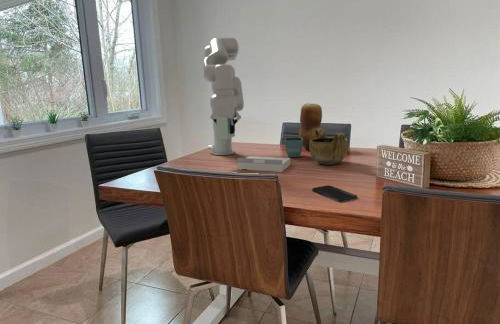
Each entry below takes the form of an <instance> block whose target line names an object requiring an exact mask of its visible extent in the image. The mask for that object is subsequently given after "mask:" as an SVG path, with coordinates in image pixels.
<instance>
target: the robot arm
mask: <svg viewBox="0 0 500 324" xmlns="http://www.w3.org/2000/svg"><path fill="white" fill-rule="evenodd" d="M239 48H240V46H239V43H238V40H237V39H236V38H235V37H216V38H213V39H211V41H210V43H209V45H207V46H205V47H204V51H203V54H204V60H203V65H202V68H203V69H202V70H203V71H202V72H203V78H204V80H205V81H206V82H208V83H209V82H210V84H211V91H212V93H213V95H211V97H210V99H209V101H210V102H209V103H210V109H211V115H210V119H211V120H212V128H213V129H212V131H213V144H212V145H211V144H210V145H208V146H207V148H208V150H212V151H211V154H212V155H214V156H229V155H233V154H236V150H234V149H233V142H232V141H233V137H232V138H230V139H218V137H217V118H216V117H217V116H228V119H230V123H231V125H230V134H234V132H235V131H236V126H235V125H236V124H237V123H238V122H239V121H240V120H241V119H242V116H241V115H240V113H239V112H241V111H242V110H243V109H244V107H245V106H244V104H245V103H244V94H243V88H242V81H241V79H240V77H238V76H235V75H236V72H235V67H233V66H232V64H227V62H229V61H230V62H231V61H235V60H236V58H237V57H238V54H239ZM235 133H236V132H235Z"/></svg>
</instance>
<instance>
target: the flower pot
mask: <svg viewBox="0 0 500 324" xmlns="http://www.w3.org/2000/svg"><path fill="white" fill-rule="evenodd" d="M284 146H285V152H286V155H287V158H299V157H300V156H301V154H302V150H303V139H302V138H299V137H284Z"/></svg>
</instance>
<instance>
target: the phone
mask: <svg viewBox="0 0 500 324" xmlns="http://www.w3.org/2000/svg"><path fill="white" fill-rule="evenodd" d="M311 192H313V193H316V194H319V195H320V196H322V197H325V198H328V199H330V200H333V201H335V202H337V203H344V202H349V201H353V200H357V199H358V195H356V194H354V193H351V192H348V191H346V190H343V189H341V188H338V187H335V186H332V185H323V186H317V187H312V188H311Z"/></svg>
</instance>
